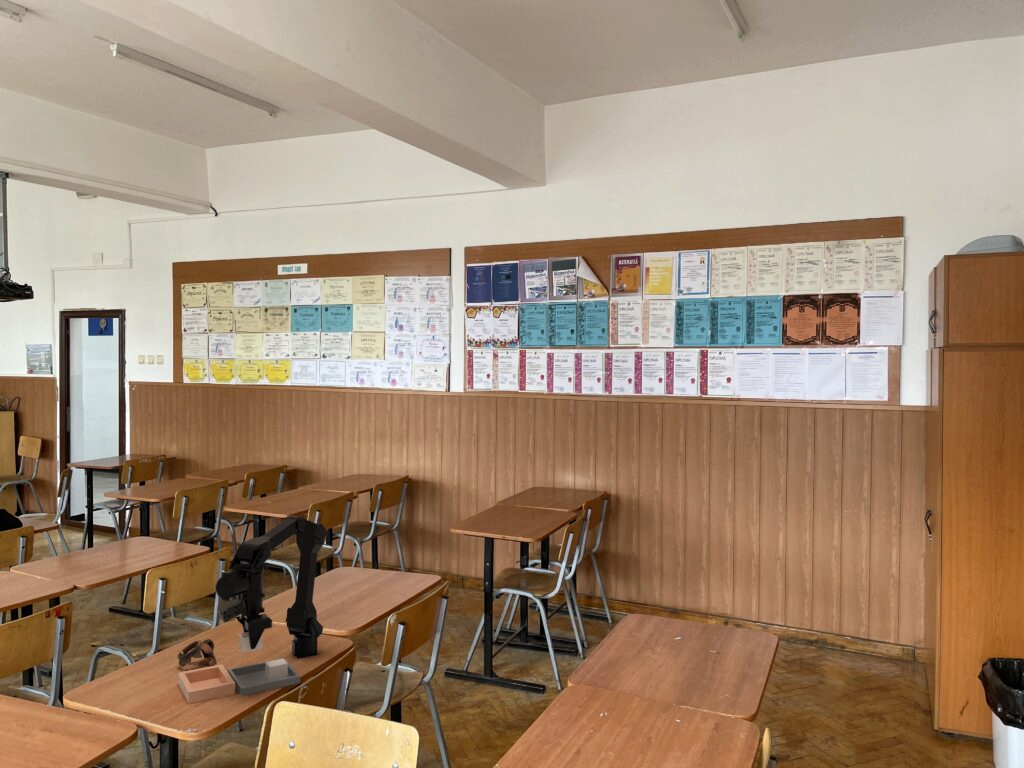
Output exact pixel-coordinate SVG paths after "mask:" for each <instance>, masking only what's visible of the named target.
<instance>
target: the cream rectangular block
mask: <svg viewBox="0 0 1024 768" xmlns="http://www.w3.org/2000/svg"><path fill="white" fill-rule="evenodd" d="M238 635H239V636H238V637H239V640H238V644H239V646H238V647H239V648H238V649H239V650H240V651H241V652H242V654H244V653H245V654H246V653H248V652H254V651H256V652H257V651H260V650H263V634H262V635H261V637H260V639H259V642H258V644H257V646H256V648H255V649H251V648H250V642H249V635H248V632H245V633H244V632H240V633H238Z"/></svg>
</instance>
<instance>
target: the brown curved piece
mask: <svg viewBox="0 0 1024 768" xmlns="http://www.w3.org/2000/svg"><path fill="white" fill-rule="evenodd" d="M214 649H215V643H214V641H213V640H212V639H209V638H206V639H205V640H203V641H201V640H194V641H192V642H191V643H190V644H189V643H188V645H187V646H185V647H184V648H183V649H182V650H181V651H182V652H179V653H178V654H177V656H176V657H177V659H178V665H179V666H182V667H184V666H185V665H190V666H191V665H192V659H201V658H204V659H207V660H208V659H210V661H209V662H208V665H209V667H211V666H216V665H218V664H217V663H218V662H217V660H216V657H215V653H214Z"/></svg>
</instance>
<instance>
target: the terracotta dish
mask: <svg viewBox="0 0 1024 768" xmlns="http://www.w3.org/2000/svg"><path fill="white" fill-rule="evenodd" d="M177 685H178V687H179V689H180V691H181V692H182V695H183V696H184V698H185V700H186V702H187V704H188V705H189V704H195V703H200V702H205V701H209V700H214V699H218V698H219V699H220V698H222V697H227V696H232V695H235V694H236V688H235V682H234V680H233V679H232V678H231V676H230V675H229V673H228V669H227V668H226V667H225V666H224V665H223V664H216V665H215V666H211V667H210V666H207V667H201V668H196V669H192V670H191V669H190V670H185V671H180V672H178V673H177Z"/></svg>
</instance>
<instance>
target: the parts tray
mask: <svg viewBox="0 0 1024 768" xmlns="http://www.w3.org/2000/svg"><path fill="white" fill-rule="evenodd" d="M279 659H280V658H277V659H276V660H279ZM281 659H284V660H285V661H286V662H287V663H288V677H287V678H282V679H278V680H273V681H268V679H267V678H266V677H265V662H268V661H269V660H267V661H262V662H258V663H257V662H256V663H252V664H247V665H242V666H237V667H231V668H227V672H228V673H229V675H230V676H231V678H232V679H233V680H234V682H235V691H237V692H238V695H240V697H244V696H249V695H253V694H258V693H262V692H266V691H271V690H276V689H281V688H286V687H291V686H294V685H300V684H301V675H300V673H298V672H297V671H296V670H295V668H294V667H293V666H292V665H291V664H290V663H289V662H288V661H287V660H286V658H285V657H283V658H281ZM274 660H275V659H272V660H271V661H274Z"/></svg>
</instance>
